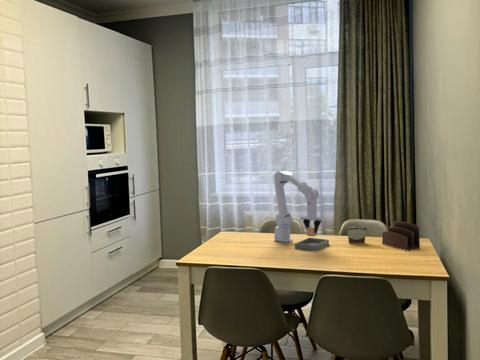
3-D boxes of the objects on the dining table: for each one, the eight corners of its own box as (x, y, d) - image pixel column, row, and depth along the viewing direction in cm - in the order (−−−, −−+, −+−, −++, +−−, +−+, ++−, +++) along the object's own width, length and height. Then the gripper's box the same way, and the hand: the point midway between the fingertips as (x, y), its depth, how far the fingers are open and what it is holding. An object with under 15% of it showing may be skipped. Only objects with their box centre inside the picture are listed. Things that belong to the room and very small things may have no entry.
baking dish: (294, 248, 259) (294, 243, 259) (309, 242, 275) (309, 237, 274) (315, 251, 252) (315, 245, 251) (328, 244, 267) (328, 239, 267)
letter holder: (394, 242, 270) (395, 219, 269) (420, 249, 252) (420, 224, 251) (382, 244, 266) (382, 221, 265) (406, 251, 248) (406, 226, 247)
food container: (365, 241, 275) (365, 225, 274) (367, 243, 269) (367, 227, 268) (345, 241, 276) (345, 225, 275) (346, 243, 270) (346, 227, 269)
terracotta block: (306, 235, 262) (306, 227, 262) (310, 234, 265) (310, 226, 265) (313, 236, 259) (313, 228, 259) (316, 235, 263) (316, 227, 262)
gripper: (297, 209, 262) (297, 232, 263) (320, 211, 254) (320, 234, 255) (303, 208, 268) (303, 230, 269) (325, 209, 260) (325, 232, 261)
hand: (312, 232), depth 262 cm, fingers closed on terracotta block, 4 cm apart
